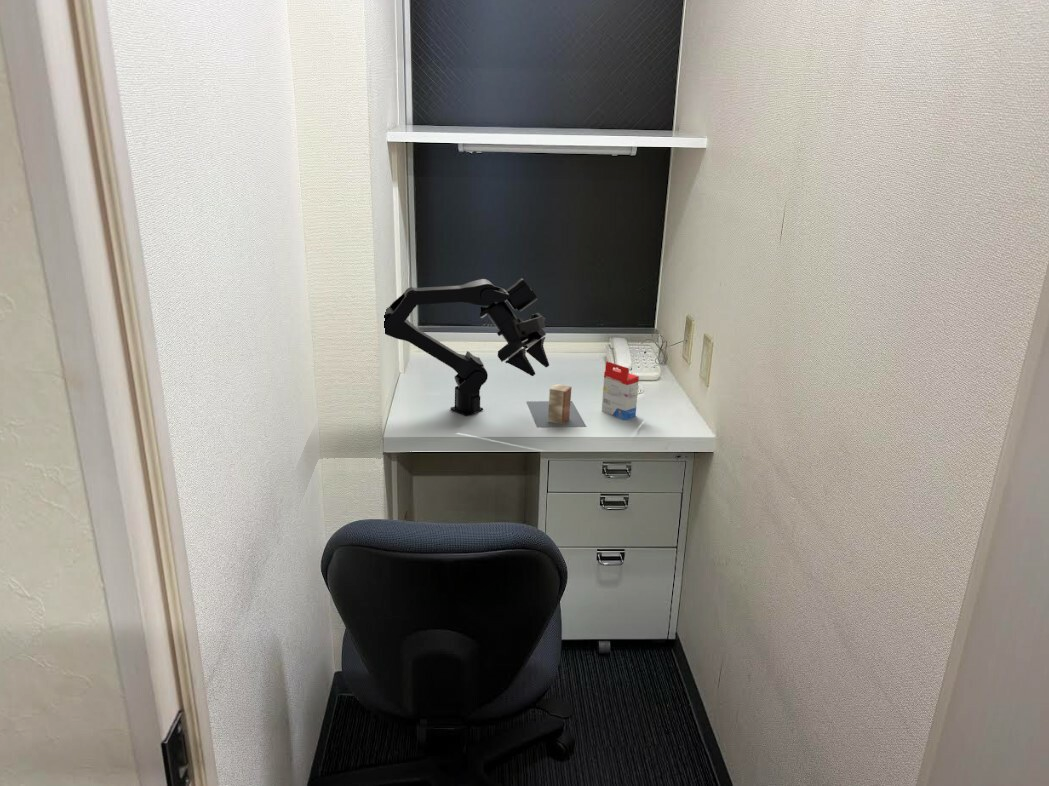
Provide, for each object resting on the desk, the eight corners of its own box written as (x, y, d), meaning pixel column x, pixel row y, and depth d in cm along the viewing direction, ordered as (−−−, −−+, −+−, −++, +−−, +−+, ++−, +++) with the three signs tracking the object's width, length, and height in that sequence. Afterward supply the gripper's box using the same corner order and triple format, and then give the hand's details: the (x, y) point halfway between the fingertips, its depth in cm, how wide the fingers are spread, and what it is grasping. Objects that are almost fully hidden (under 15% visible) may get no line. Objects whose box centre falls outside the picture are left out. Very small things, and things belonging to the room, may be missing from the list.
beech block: (547, 421, 206) (549, 388, 203) (553, 415, 210) (555, 383, 207) (563, 424, 205) (565, 391, 202) (569, 418, 208) (571, 386, 205)
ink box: (636, 417, 213) (641, 365, 208) (624, 421, 210) (629, 369, 205) (612, 408, 219) (616, 357, 214) (600, 412, 215) (604, 360, 210)
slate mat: (586, 428, 204) (586, 426, 204) (536, 428, 202) (537, 427, 202) (571, 402, 222) (571, 401, 221) (526, 402, 220) (526, 401, 219)
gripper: (512, 310, 193) (549, 362, 192) (542, 298, 209) (576, 345, 209) (481, 335, 198) (517, 386, 198) (512, 321, 214) (546, 368, 214)
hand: (541, 370), depth 204 cm, fingers open, 9 cm apart
